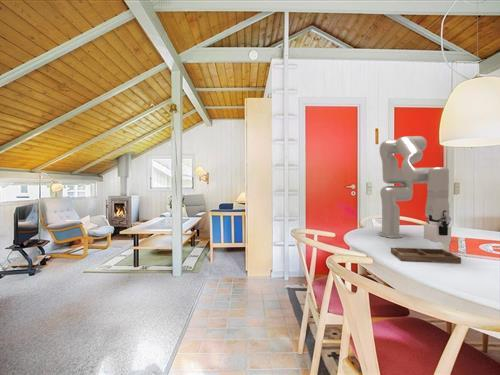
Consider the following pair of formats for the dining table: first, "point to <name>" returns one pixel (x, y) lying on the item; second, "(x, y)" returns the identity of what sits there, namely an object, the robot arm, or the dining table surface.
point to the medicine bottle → (435, 231)
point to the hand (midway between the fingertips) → (437, 232)
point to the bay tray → (425, 255)
